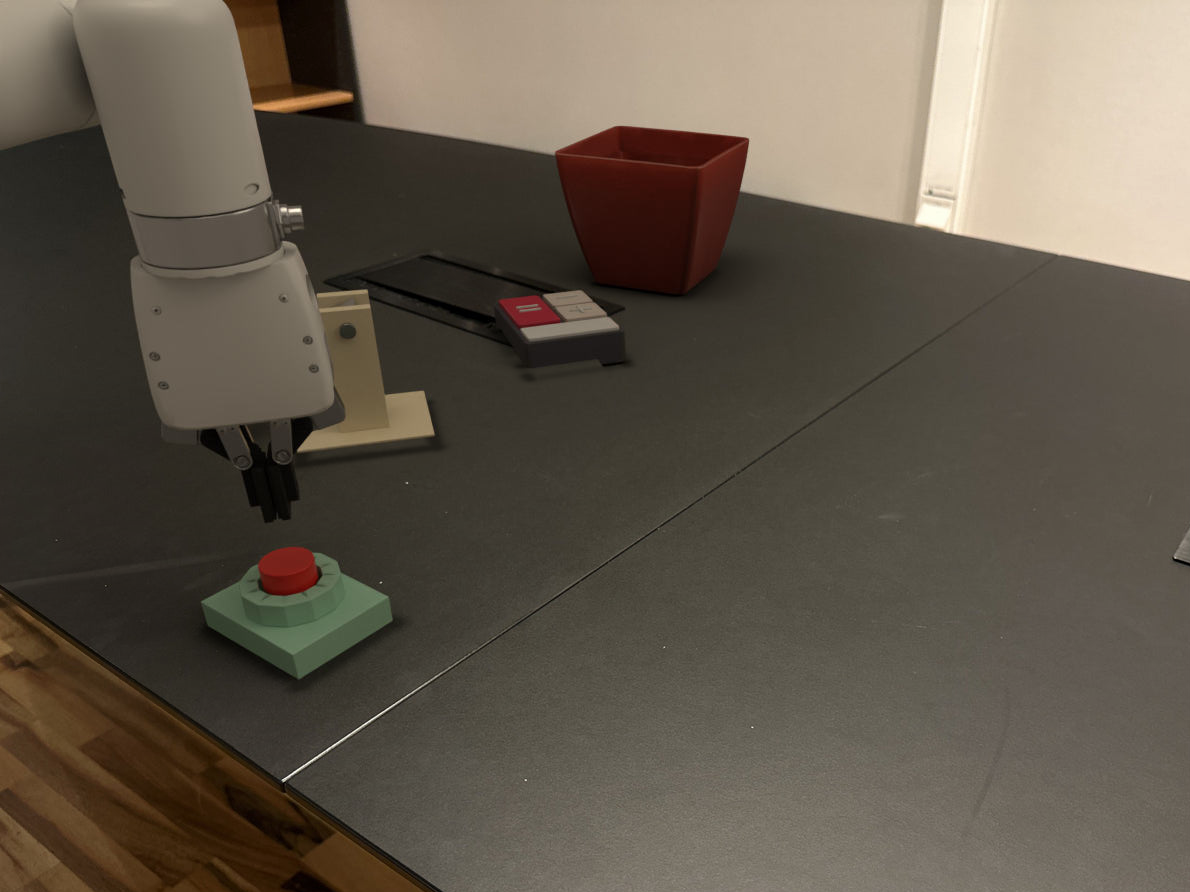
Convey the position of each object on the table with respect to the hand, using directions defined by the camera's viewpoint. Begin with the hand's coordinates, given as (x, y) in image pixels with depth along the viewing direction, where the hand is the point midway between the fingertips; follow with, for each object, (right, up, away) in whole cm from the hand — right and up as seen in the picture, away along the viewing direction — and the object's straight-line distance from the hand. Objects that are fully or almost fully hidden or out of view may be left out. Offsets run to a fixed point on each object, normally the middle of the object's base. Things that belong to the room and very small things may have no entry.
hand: (278, 510), depth 69 cm
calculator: (+11, +20, +50) cm, 55 cm away
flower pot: (+21, +33, +70) cm, 80 cm away
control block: (-1, -8, +5) cm, 9 cm away
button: (0, -5, +3) cm, 6 cm away
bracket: (-5, +9, +31) cm, 32 cm away
